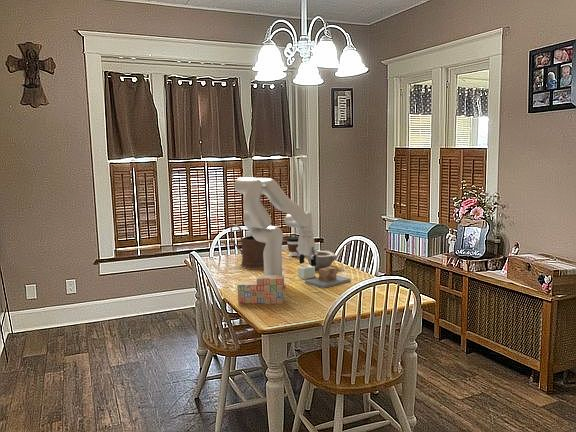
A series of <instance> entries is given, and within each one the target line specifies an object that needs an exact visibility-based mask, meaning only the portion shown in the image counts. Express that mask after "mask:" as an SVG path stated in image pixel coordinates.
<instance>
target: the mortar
mask: <svg viewBox="0 0 576 432" xmlns="http://www.w3.org/2000/svg"><path fill="white" fill-rule="evenodd" d="M317 251H318V256H317V258H316V266H315V270H319V269H321V268H325V267H332V264H333V262H334V261H335V260H336V259H337V257H338V255H337V254H335V253H334V252H331V251H330V250H317ZM312 256H313V255H312ZM305 257H306V259H307V262H308V264H309V265H310V266H311V257H310V255H309V256H307V255H305Z"/></svg>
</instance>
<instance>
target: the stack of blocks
mask: <svg viewBox="0 0 576 432" xmlns="http://www.w3.org/2000/svg"><path fill="white" fill-rule="evenodd" d="M284 282H285V275H282V276H277V275H265V276H264V274H263V275H257V277H256V281H239V282H238V284H237V303H265V304H264V305H284V304H285V303H284V302H285V286H284Z"/></svg>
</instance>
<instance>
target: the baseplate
mask: <svg viewBox="0 0 576 432" xmlns="http://www.w3.org/2000/svg"><path fill="white" fill-rule="evenodd" d="M351 280H352V279H351V278H350V277H345V276H342V275H338V274H336V279H334V280H330V281H326V282H325V281H321V280H319V276H318V277H313V278H308V279H304V284H305V285H309V286H314V287H318V288H321V289H326V288H330V287H333V286H338V285H341V284H345V283H349V281H350V282H351Z"/></svg>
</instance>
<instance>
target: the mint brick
mask: <svg viewBox="0 0 576 432" xmlns="http://www.w3.org/2000/svg"><path fill="white" fill-rule="evenodd" d="M297 278H298V279H302V280H309V279H313V278H316V269H315V266H310V264H309V265H304V266H299V267H297Z"/></svg>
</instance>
